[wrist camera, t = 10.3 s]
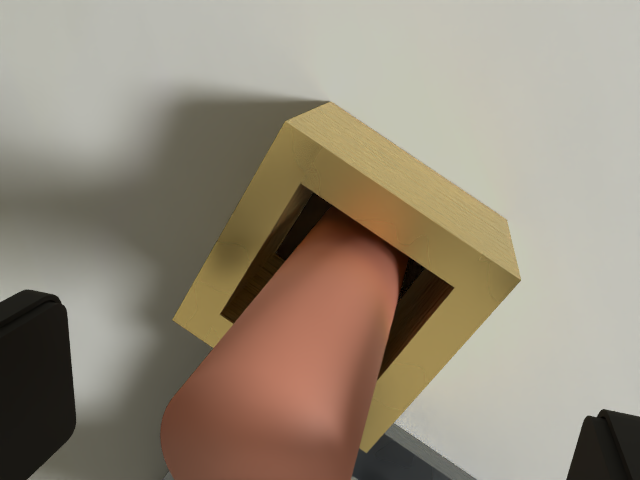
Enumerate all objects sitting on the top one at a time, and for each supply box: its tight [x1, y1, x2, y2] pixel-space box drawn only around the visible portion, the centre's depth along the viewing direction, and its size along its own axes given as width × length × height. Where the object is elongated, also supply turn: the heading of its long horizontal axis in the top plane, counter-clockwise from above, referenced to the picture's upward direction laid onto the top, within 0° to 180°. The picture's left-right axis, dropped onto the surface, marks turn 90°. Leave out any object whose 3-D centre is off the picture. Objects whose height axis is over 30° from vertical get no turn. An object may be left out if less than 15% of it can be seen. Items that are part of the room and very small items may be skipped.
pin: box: [160, 205, 409, 480], centre depth 13 cm, size 3×3×10 cm
